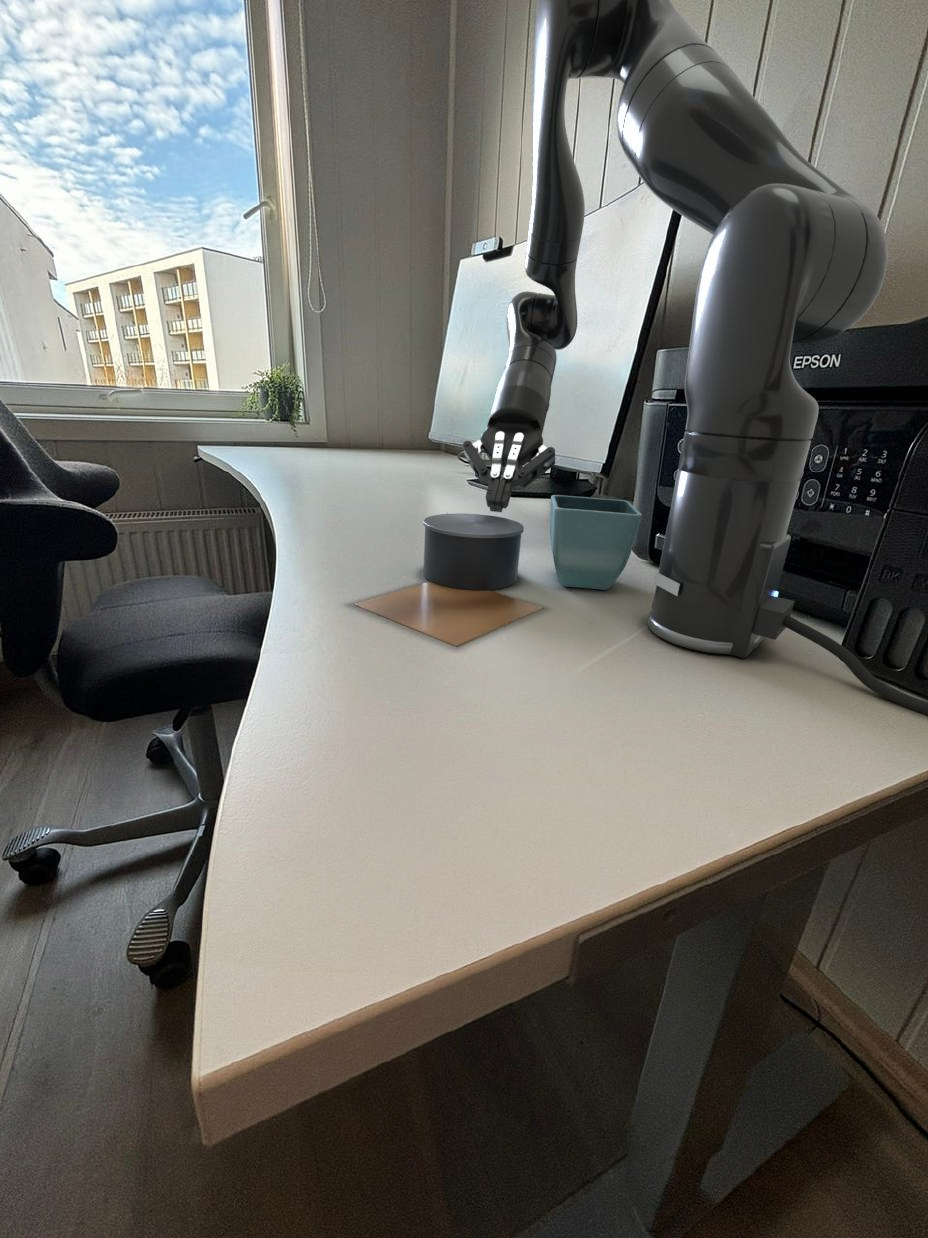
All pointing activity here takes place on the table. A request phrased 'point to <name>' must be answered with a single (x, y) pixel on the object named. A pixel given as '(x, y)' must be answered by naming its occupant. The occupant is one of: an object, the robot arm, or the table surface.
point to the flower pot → (591, 539)
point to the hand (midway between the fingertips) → (495, 508)
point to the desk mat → (449, 611)
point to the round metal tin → (471, 551)
